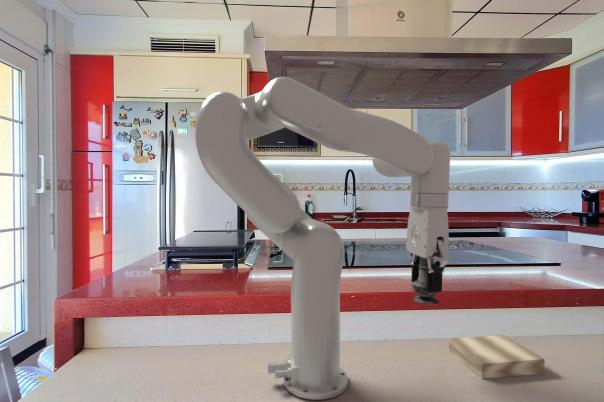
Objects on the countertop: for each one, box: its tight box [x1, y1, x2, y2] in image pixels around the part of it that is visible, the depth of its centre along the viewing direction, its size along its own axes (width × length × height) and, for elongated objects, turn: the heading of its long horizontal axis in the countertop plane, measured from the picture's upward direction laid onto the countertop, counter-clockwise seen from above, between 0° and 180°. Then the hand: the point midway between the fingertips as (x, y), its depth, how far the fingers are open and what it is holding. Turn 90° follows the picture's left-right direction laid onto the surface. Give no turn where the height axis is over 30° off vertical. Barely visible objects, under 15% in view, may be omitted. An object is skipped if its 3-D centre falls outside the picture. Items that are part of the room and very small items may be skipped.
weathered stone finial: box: [411, 255, 440, 306], centre depth 78 cm, size 6×6×12 cm
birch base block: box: [448, 334, 546, 380], centre depth 80 cm, size 14×12×3 cm
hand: (425, 286), depth 78 cm, fingers closed on weathered stone finial, 5 cm apart
